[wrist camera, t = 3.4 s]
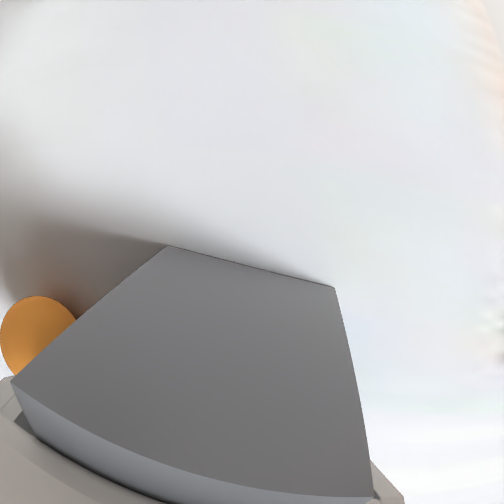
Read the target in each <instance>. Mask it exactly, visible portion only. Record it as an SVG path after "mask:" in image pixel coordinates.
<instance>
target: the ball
mask: <svg viewBox="0 0 504 504" xmlns="http://www.w3.org/2000/svg"><path fill="white" fill-rule="evenodd" d="M75 321H76V319H75V317H74V316H73V315H72V313H71V312H70V311H69V310H68V309H67V308H66V307H65V306H63V305H62V304H61V303H59V302H57V301H56V300H53V299H51V298H48V297H43V296H31V297H27V298H24V299H22V300H20V301H18V302H17V303H15V304H14V305H13V306H12V307H11V308H10V309H9V310H8V312H7V313H6V315H5V317H4V319H3V322H2V325H1V329H0V346H1V351H2V354H3V357H4V359H5V362H6V364H7V365H8V367H9V368H10V370H11V371H12V372H13V374H14V375H17V374H18V373H19V372H20V371H21V370H22V369H23V368H24V367H25V366H26V365H27V364H28V363H29V362H30V361H32V360H33V359H34V358H35V357H36V356H37V355H38V354H39V353H40V352H41V351H42V350H43V349H44V348H46V347H47V346H48V345H49V344H50V343H51V342H52V341H53V340H54V339H55V338H57V337H58V336H59V335H60V334H61V333H62V332H63V331H64V330H66V329H67V328H68V327H69V326H70V325H71V324H72V323H73V322H75Z"/></svg>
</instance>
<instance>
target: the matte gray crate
mask: <svg viewBox="0 0 504 504" xmlns="http://www.w3.org/2000/svg"><path fill="white" fill-rule="evenodd" d="M10 383H11V386H12V388H13V390H14V393H15V395H16V397H17V399H18V402H19V404H20V406H21V408H22V410H23V412H24V414H25V416H26V418H27V420H28V422H29V424H30V426H31V428H32V430H33V432H34V433H35V435H36V437H37V439H38V440H40V441H41V442H43V443H44V444H46V445H47V446H49V447H50V448H52V449H53V450H55V451H57V452H58V453H60V454H61V455H63V456H65V457H66V458H68V459H70V460H72V461H73V462H75V463H77V464H79V465H80V466H82V467H84V468H86V469H88V470H90V471H92V472H94V473H95V474H97V475H99V476H101V477H103V478H106V479H108V480H110V481H112V482H114V483H116V484H118V485H121V486H123V487H125V488H128V489H130V490H132V491H135V492H137V493H140V494H142V495H145V496H147V497H150V498H153V499H155V500H158V501H161V502H164V503H167V504H366V503H367V502H369V501H370V500H371V499H372V498H374V497H375V496H374V488H373V479H372V472H371V464H370V457H369V450H368V444H367V437H366V431H365V425H364V419H363V414H362V408H361V403H360V397H359V392H358V387H357V382H356V377H355V372H354V368H353V363H352V358H351V354H350V349H349V345H348V340H347V336H346V332H345V327H344V323H343V319H342V315H341V311H340V307H339V303H338V299H337V295H336V291H335V288H333V287H329V286H325V285H321V284H317V283H313V282H309V281H305V280H301V279H297V278H293V277H289V276H285V275H281V274H277V273H273V272H269V271H265V270H261V269H257V268H253V267H249V266H245V265H241V264H237V263H234V262H230V261H226V260H222V259H218V258H214V257H210V256H207V255H203V254H199V253H195V252H191V251H188V250H184V249H180V248H176V247H173V246H169V245H167V246H166V247H165V248H164V249H162V250H161V251H160V252H158V253H157V254H156V255H155V256H153V257H152V258H151V259H149V260H148V261H147V262H146V263H144V264H143V265H142V266H141V267H139V268H138V269H137V270H136V271H134V272H133V273H132V274H131V275H129V276H128V277H127V278H126V279H124V280H123V281H122V282H121V283H120V284H118V285H117V286H116V287H115V288H114V289H112V290H111V291H110V292H109V293H107V294H106V295H105V296H104V297H103V298H101V299H100V300H99V301H98V302H97V303H96V304H94V305H93V306H92V307H91V308H90V309H89V310H87V311H86V312H85V313H84V314H83V315H82V316H80V317H79V318H78V319H77V320H76V321H75V322H73V323H72V324H71V325H70V326H69V327H68V328H67V329H66V330H64V331H63V332H62V333H61V334H60V335H59V336H58V337H57V338H55V339H54V340H53V341H52V342H51V343H50V344H49V345H48V346H47V347H46V348H44V349H43V350H42V351H41V352H40V353H39V354H38V355H37V356H36V357H35V358H34V359H33V360H32V361H30V362H29V363H28V364H27V365H26V366H25V367H24V368H23V369H22V370H21V371H20V372H19V373H18V374H17V375H16V376H15V377H14V378H13V379H12V380H11V381H10Z"/></svg>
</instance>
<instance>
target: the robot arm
mask: <svg viewBox="0 0 504 504" xmlns="http://www.w3.org/2000/svg"><path fill="white" fill-rule="evenodd" d="M15 376H16V375H14V376H10V377H5V378H3V379H2V380H1V381H0V504H167V503H164V502H161V501H158V500H155V499H153V498H150V497H147V496H145V495H142V494H140V493H137V492H135V491H132V490H130V489H128V488H125V487H123V486H121V485H118V484H116V483H114V482H112V481H110V480H108V479H106V478H103V477H101V476H99V475H97V474H95V473H94V472H92V471H90V470H88V469H86V468H84V467H82V466H80V465H79V464H77V463H75V462H73V461H72V460H70V459H68V458H66V457H65V456H63V455H61V454H60V453H58V452H57V451H55V450H53V449H52V448H50V447H49V446H47V445H46V444H44V443H43V442H41V441H40V440H38V439H37V437H36V435H35V433H34V432H33V430H32V428H31V426H30V424H29V422H28V420H27V418H26V416H25V414H24V412H23V410H22V408H21V406H20V404H19V402H18V399H17V397H16V395H15V393H14V390H13V388H12V386H11V383H10V381H11V380H12V379H13V378H14V377H15ZM370 464H371V472H372V479H373V488H374V496H375V497H374V498H372V499H371V500H370V501H369V502H367V503H366V504H405V503H404V497H403V495H402V494H401V493H400V492H399V491H398V490H397V489H396V488H395V487H394V486H393V485H392V483H391V482H390V481H389V480H388V479H387V478H386V477H385V476H384V475H383V474H382V472H381V471H380V470H379V469H378V468H377V467H376V466H375V465H374V464H373V462H372V461H371V460H370Z"/></svg>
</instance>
